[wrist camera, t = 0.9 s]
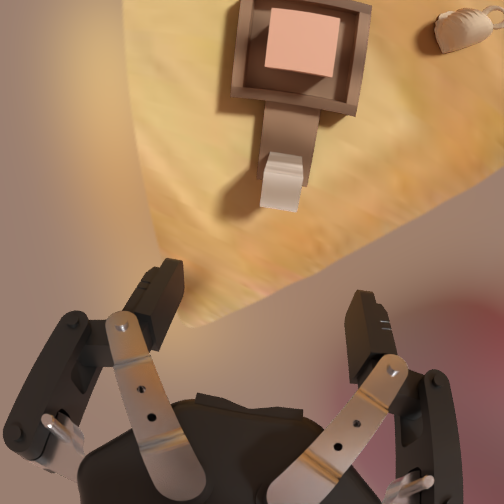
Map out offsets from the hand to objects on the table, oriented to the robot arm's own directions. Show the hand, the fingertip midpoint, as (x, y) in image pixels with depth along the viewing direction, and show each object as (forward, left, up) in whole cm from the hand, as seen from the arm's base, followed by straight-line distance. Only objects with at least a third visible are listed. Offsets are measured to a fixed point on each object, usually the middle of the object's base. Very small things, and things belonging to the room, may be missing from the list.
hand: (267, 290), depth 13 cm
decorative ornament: (-20, +16, -19) cm, 32 cm away
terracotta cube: (-12, 0, -18) cm, 21 cm away
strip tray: (-8, 0, -19) cm, 20 cm away
